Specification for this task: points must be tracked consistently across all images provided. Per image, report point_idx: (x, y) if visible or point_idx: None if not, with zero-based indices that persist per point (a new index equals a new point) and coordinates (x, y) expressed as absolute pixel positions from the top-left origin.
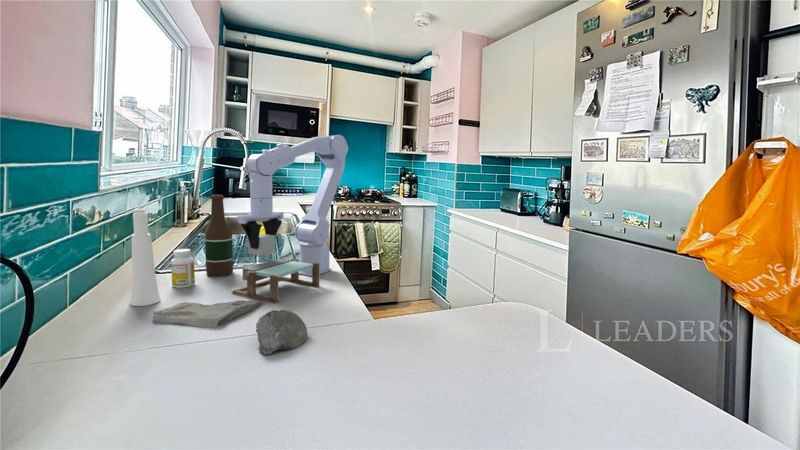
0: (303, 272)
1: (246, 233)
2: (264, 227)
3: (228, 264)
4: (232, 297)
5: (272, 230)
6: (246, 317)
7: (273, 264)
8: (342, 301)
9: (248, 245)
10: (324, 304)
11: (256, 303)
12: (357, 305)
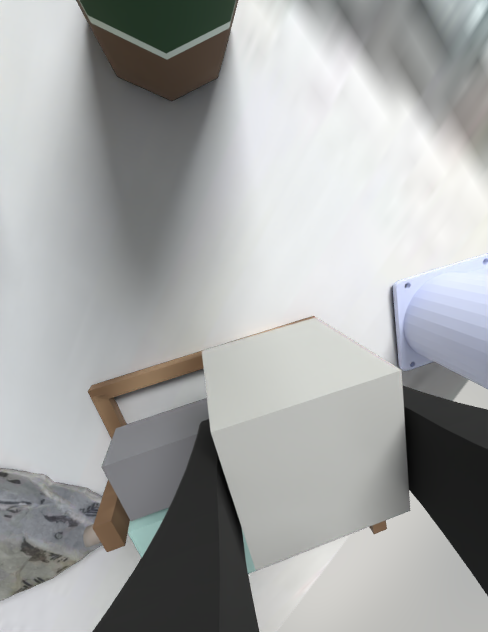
0: (404, 327)
1: (158, 539)
2: (477, 450)
3: (186, 65)
4: (77, 421)
5: (450, 526)
6: (52, 578)
7: None
8: (291, 576)
9: (206, 382)
10: (249, 576)
11: (100, 545)
12: (294, 605)
